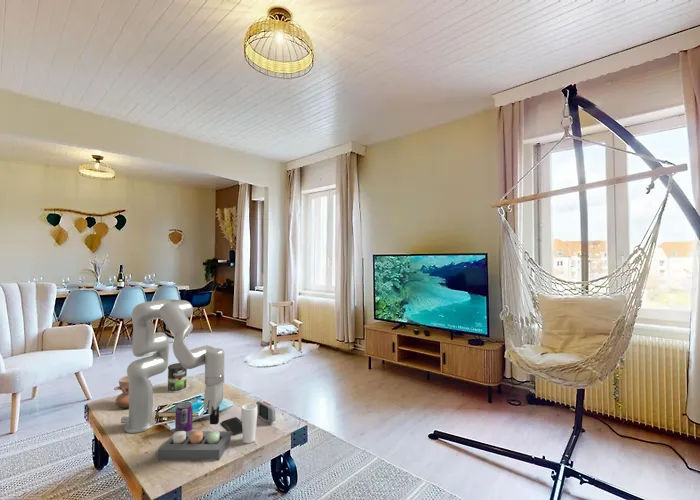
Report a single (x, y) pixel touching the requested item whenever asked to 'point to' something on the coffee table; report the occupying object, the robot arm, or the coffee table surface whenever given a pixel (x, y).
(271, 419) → the handheld gaming console
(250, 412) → the drinking glass
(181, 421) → the beverage can
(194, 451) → the grey slotted block
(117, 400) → the ceramic jug
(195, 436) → the button terracotta
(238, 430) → the phone
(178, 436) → the button ivory
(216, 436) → the button sage
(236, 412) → the coffee table surface
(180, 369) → the coffee can
